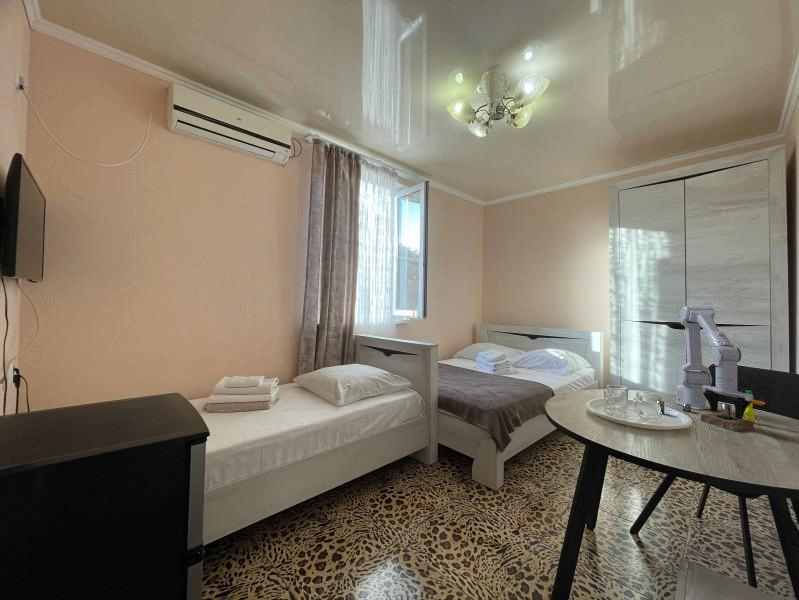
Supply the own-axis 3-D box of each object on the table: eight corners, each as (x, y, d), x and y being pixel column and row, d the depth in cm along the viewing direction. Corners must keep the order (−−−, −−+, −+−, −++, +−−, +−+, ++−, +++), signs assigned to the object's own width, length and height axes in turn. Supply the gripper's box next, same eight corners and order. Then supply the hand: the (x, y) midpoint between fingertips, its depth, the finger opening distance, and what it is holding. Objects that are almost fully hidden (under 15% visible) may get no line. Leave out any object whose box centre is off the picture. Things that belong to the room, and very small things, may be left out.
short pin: (681, 410, 137) (681, 403, 137) (686, 410, 137) (686, 403, 137) (687, 412, 134) (687, 405, 134) (692, 412, 135) (692, 404, 135)
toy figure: (766, 425, 121) (766, 392, 121) (763, 426, 119) (763, 393, 119) (741, 419, 127) (741, 388, 127) (737, 420, 125) (737, 389, 125)
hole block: (700, 420, 124) (700, 414, 124) (720, 419, 127) (720, 412, 127) (732, 430, 115) (732, 423, 115) (753, 428, 117) (753, 421, 117)
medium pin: (654, 412, 134) (654, 400, 134) (659, 412, 134) (659, 400, 134) (660, 414, 131) (660, 402, 131) (666, 414, 132) (666, 401, 132)
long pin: (719, 423, 122) (719, 403, 122) (725, 423, 122) (725, 403, 122) (728, 426, 119) (728, 405, 119) (733, 425, 120) (733, 405, 120)
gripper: (696, 374, 127) (696, 409, 127) (742, 383, 113) (742, 422, 113) (710, 373, 129) (710, 408, 128) (757, 382, 114) (757, 421, 114)
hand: (726, 414), depth 121 cm, fingers open, 7 cm apart
